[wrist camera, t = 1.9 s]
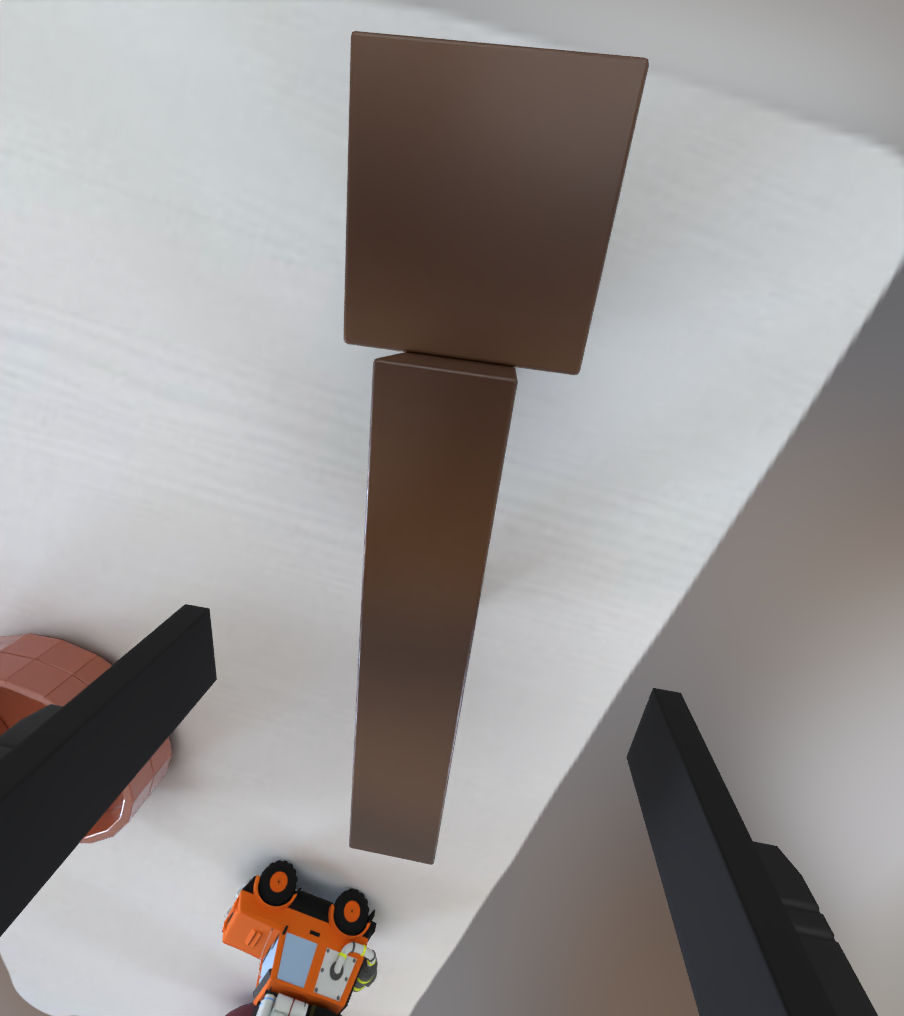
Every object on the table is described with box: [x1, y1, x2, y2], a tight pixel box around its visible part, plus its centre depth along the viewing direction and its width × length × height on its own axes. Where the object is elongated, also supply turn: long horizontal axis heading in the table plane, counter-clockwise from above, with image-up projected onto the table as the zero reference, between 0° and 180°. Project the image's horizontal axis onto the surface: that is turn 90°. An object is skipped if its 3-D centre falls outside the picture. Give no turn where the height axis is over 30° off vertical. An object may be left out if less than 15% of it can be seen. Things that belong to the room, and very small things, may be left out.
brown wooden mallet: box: [344, 31, 649, 865], centre depth 14 cm, size 18×5×12 cm, turn 173°
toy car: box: [222, 860, 377, 1016], centre depth 31 cm, size 7×12×9 cm, turn 67°
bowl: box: [0, 634, 172, 843], centre depth 28 cm, size 14×14×4 cm
